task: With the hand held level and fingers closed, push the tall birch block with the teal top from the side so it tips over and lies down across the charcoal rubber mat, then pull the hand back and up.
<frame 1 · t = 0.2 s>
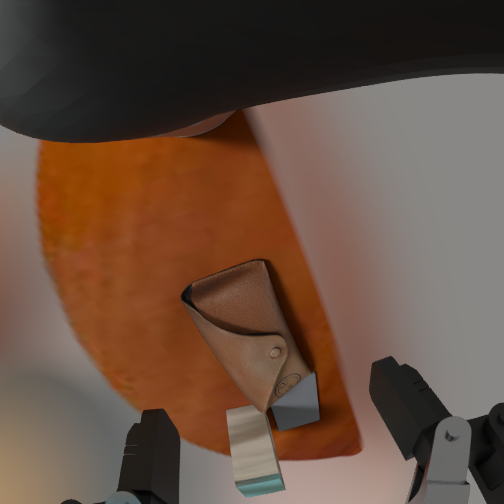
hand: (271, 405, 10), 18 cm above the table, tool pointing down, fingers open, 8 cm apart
sunglasses case: (255, 337, 31), on the table, touching rubber mat
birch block: (248, 415, 36), on the table
rubber mat: (294, 404, 37), on the table
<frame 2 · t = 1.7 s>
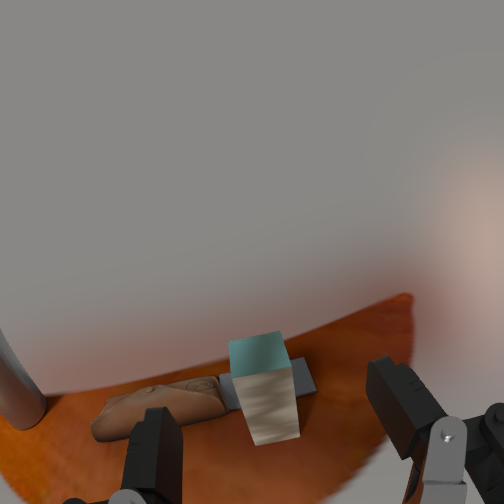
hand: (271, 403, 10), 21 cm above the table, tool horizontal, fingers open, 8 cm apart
sunglasses case: (160, 414, 33), on the table, touching rubber mat
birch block: (274, 424, 29), on the table
rubber mat: (265, 385, 36), on the table
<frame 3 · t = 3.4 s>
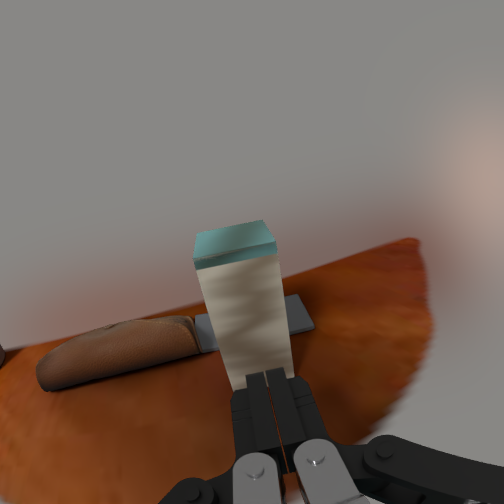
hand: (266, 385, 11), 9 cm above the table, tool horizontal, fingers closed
sunglasses case: (120, 360, 27), on the table, touching rubber mat
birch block: (260, 367, 24), on the table
rubber mat: (250, 324, 30), on the table
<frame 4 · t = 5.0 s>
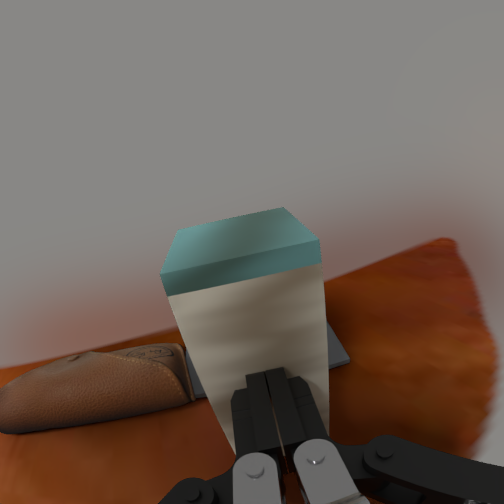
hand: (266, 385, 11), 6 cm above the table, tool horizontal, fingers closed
sunglasses case: (90, 400, 19), on the table, touching rubber mat
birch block: (277, 423, 15), on the table, touching gripper
rubber mat: (260, 356, 22), on the table
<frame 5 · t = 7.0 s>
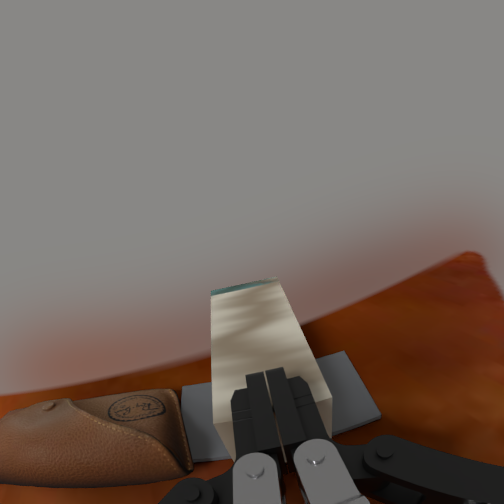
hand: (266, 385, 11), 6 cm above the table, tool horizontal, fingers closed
sunglasses case: (72, 452, 13), on the table, touching rubber mat
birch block: (280, 441, 11), point 3 cm above the table, tilted 90°, touching gripper, rubber mat
rubber mat: (272, 409, 17), on the table
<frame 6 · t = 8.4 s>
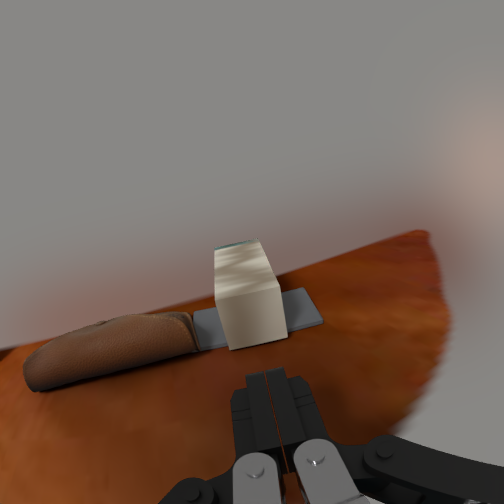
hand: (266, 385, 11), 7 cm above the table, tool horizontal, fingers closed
sunglasses case: (113, 359, 25), on the table, touching rubber mat
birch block: (253, 320, 23), point 3 cm above the table, tilted 90°, touching rubber mat
rubber mat: (253, 319, 28), on the table
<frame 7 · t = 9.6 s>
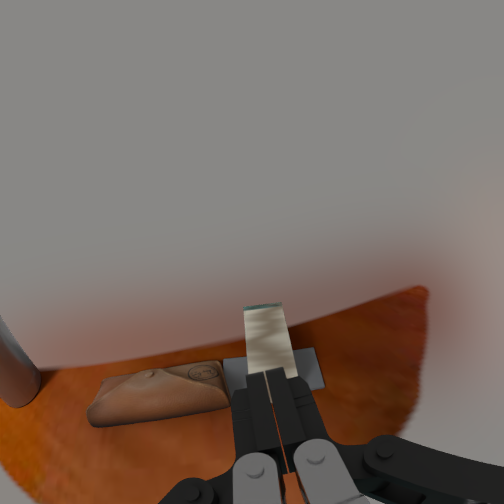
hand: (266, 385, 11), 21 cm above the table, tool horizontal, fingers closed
sunglasses case: (159, 399, 32), on the table, touching rubber mat
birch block: (274, 391, 29), point 3 cm above the table, tilted 90°, touching rubber mat
rubber mat: (271, 375, 34), on the table
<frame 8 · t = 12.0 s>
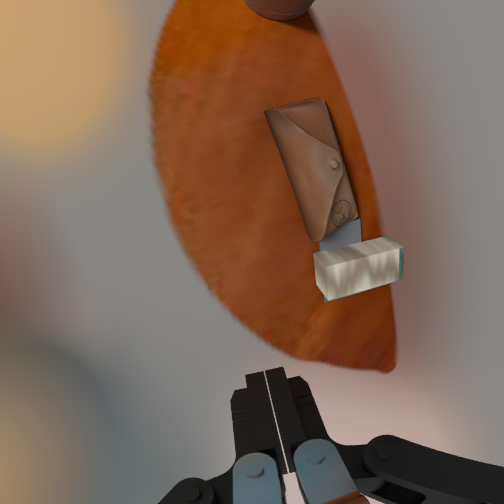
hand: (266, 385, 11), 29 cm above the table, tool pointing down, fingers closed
sunglasses case: (314, 166, 37), on the table, touching rubber mat
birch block: (320, 276, 39), point 3 cm above the table, tilted 90°, touching rubber mat
rubber mat: (341, 261, 42), on the table
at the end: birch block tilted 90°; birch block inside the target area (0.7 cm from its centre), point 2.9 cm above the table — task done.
